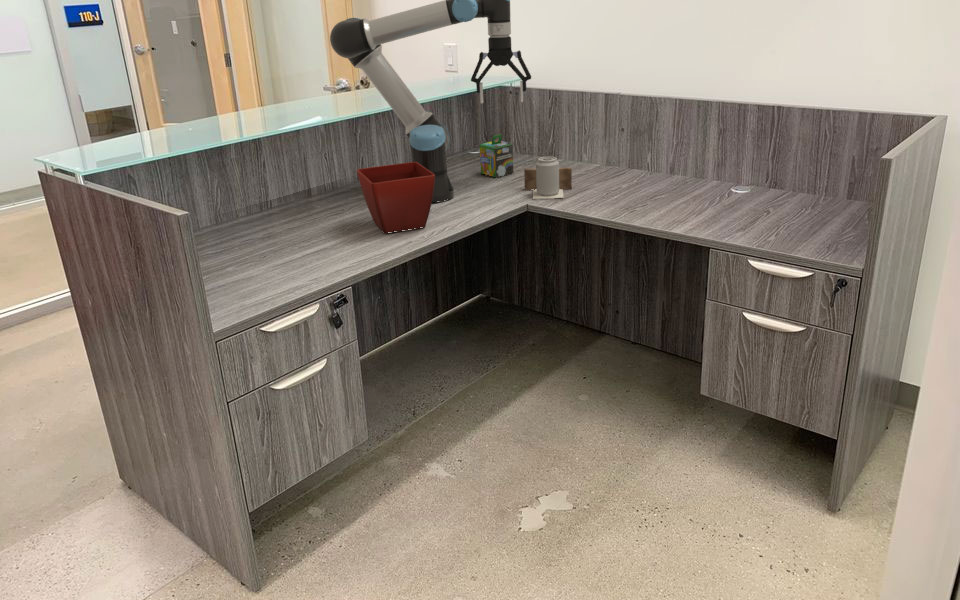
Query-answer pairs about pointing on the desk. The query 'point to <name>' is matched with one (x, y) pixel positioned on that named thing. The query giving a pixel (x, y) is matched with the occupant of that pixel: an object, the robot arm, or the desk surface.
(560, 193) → the pad
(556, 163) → the can
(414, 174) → the plant pot
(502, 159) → the chalk box
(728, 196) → the desk surface
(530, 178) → the walnut plank
